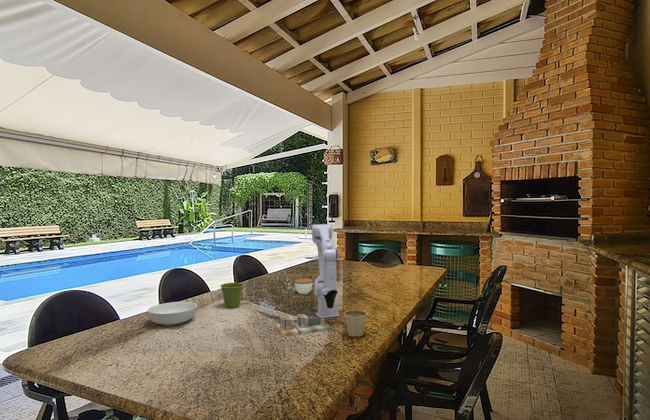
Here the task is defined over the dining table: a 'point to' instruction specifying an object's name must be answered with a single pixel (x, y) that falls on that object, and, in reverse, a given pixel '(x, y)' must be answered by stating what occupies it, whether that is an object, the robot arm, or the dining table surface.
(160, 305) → the serving bowl
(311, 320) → the charcoal brick
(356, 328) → the flower pot
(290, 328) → the base
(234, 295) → the plant pot
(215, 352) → the dining table surface
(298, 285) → the lidded jar
